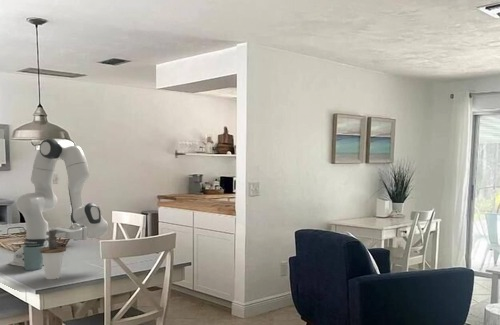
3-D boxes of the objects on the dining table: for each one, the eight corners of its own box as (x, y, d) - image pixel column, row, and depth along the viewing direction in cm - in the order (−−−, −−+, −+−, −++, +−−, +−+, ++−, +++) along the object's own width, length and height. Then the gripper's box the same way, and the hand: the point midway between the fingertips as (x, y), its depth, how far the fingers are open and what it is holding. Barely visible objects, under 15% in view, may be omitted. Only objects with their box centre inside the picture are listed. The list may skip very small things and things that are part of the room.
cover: (33, 252, 230) (33, 231, 230) (49, 248, 242) (49, 228, 242) (56, 253, 228) (56, 232, 228) (71, 249, 239) (71, 228, 239)
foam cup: (46, 275, 239) (46, 249, 239) (65, 275, 240) (65, 248, 240) (39, 280, 230) (39, 252, 230) (59, 279, 230) (59, 252, 230)
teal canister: (19, 270, 250) (19, 247, 249) (30, 266, 260) (30, 243, 260) (37, 271, 248) (37, 247, 248) (48, 266, 258) (48, 244, 258)
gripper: (67, 223, 251) (41, 225, 241) (88, 227, 238) (61, 230, 227) (67, 235, 251) (41, 238, 241) (88, 240, 238) (61, 243, 227)
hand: (51, 234), depth 234 cm, fingers open, 8 cm apart
